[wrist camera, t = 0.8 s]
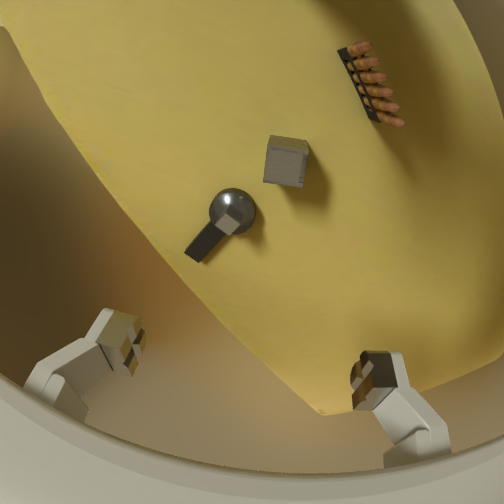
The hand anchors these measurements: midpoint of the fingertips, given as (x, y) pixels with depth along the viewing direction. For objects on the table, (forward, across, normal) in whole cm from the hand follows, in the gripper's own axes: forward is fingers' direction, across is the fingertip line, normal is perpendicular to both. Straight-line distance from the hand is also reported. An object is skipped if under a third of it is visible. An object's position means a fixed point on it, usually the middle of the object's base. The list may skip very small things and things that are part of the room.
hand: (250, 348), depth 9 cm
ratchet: (+34, +8, +15) cm, 38 cm away
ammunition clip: (+34, -10, -11) cm, 37 cm away
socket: (+34, -1, +2) cm, 34 cm away
